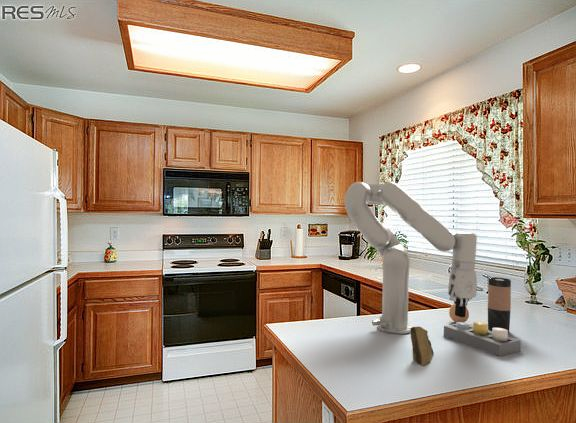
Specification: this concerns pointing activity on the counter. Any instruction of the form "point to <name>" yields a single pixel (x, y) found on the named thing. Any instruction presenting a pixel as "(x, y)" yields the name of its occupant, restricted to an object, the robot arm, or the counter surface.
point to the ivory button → (500, 334)
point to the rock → (421, 346)
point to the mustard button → (480, 328)
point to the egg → (457, 318)
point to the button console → (482, 340)
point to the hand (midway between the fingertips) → (459, 316)
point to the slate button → (462, 325)
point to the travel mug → (499, 303)
